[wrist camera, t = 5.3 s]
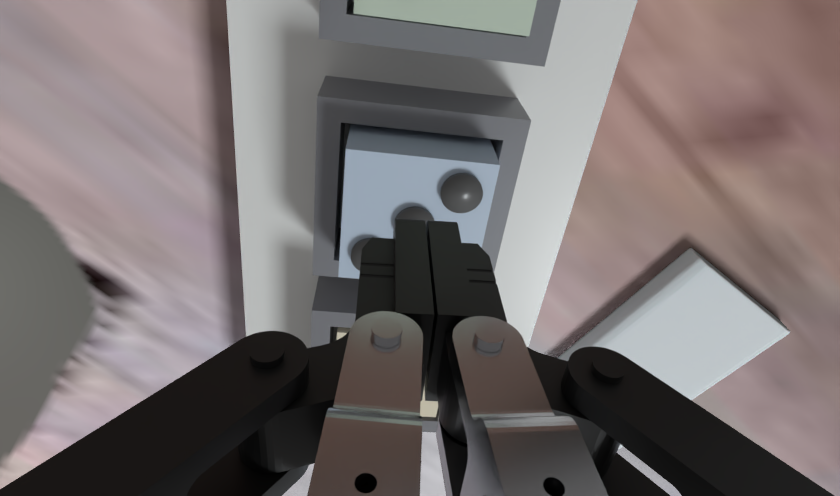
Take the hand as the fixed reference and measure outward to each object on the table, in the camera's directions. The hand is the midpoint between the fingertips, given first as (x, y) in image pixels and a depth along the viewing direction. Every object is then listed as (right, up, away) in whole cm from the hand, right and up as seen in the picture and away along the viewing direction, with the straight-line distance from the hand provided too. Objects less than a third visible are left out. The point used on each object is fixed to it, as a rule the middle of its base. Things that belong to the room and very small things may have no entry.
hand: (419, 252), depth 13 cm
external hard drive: (+13, -6, +18) cm, 23 cm away
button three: (0, +2, +8) cm, 8 cm away
